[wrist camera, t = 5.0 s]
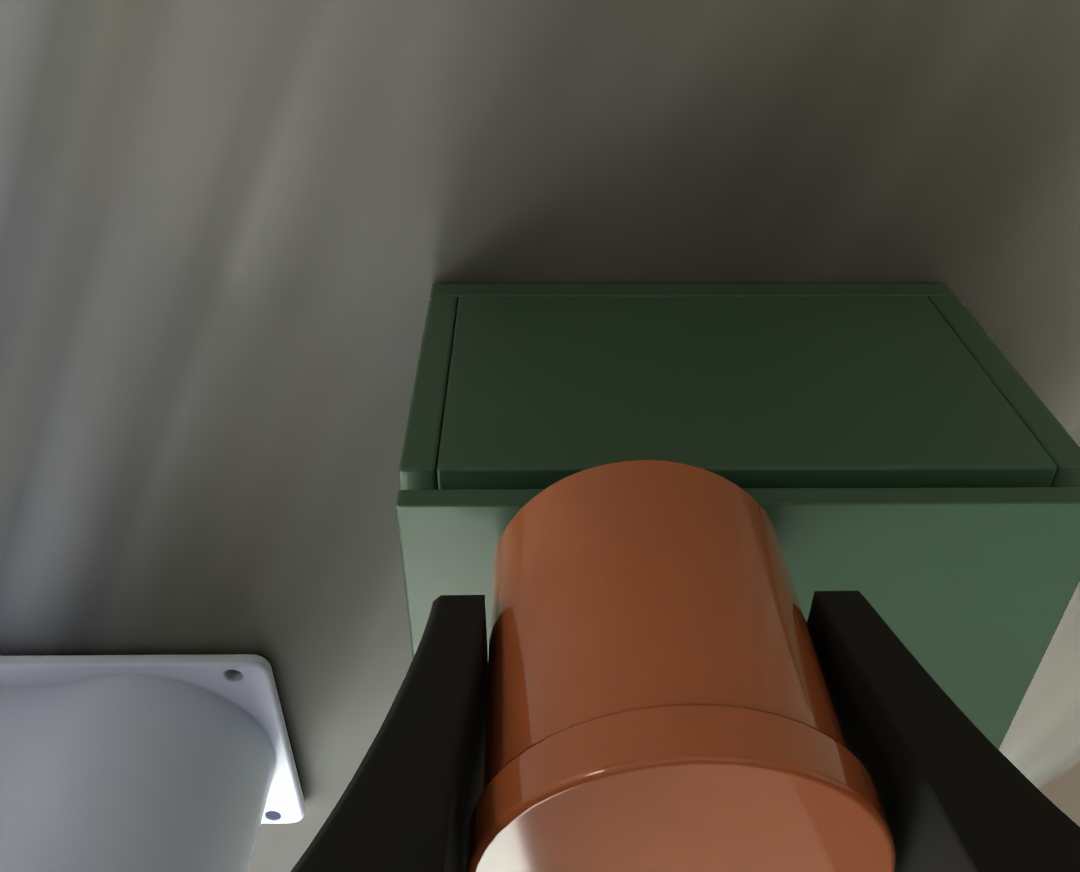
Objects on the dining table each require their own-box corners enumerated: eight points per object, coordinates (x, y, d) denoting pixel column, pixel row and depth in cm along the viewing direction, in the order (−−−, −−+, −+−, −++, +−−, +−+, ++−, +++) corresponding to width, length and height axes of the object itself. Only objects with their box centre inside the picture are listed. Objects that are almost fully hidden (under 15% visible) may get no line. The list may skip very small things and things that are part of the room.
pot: (487, 674, 16) (474, 993, 11) (475, 449, 13) (453, 762, 9) (765, 670, 16) (852, 987, 12) (813, 446, 13) (948, 755, 9)
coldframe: (830, 680, 28) (915, 929, 22) (459, 682, 28) (441, 934, 22) (944, 282, 20) (1123, 498, 14) (432, 282, 20) (391, 501, 14)
